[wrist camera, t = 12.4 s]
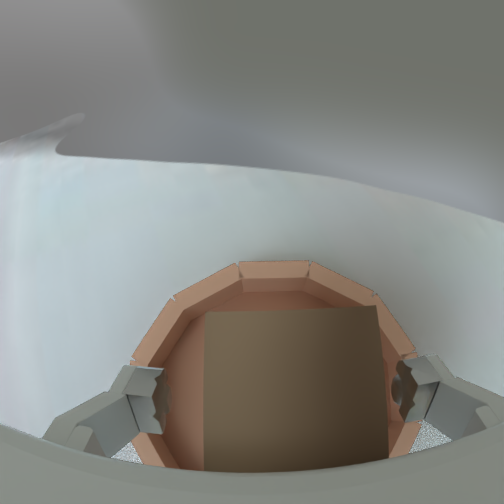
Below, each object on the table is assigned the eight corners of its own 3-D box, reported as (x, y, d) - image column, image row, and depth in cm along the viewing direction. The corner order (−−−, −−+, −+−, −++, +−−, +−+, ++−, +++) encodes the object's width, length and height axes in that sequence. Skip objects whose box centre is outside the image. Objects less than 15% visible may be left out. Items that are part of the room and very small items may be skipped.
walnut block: (235, 442, 15) (204, 485, 6) (235, 365, 17) (205, 311, 8) (318, 438, 15) (388, 470, 6) (315, 362, 17) (376, 305, 8)
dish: (139, 516, 13) (122, 530, 10) (149, 275, 20) (134, 255, 18) (407, 506, 12) (427, 517, 10) (390, 270, 20) (405, 250, 17)
